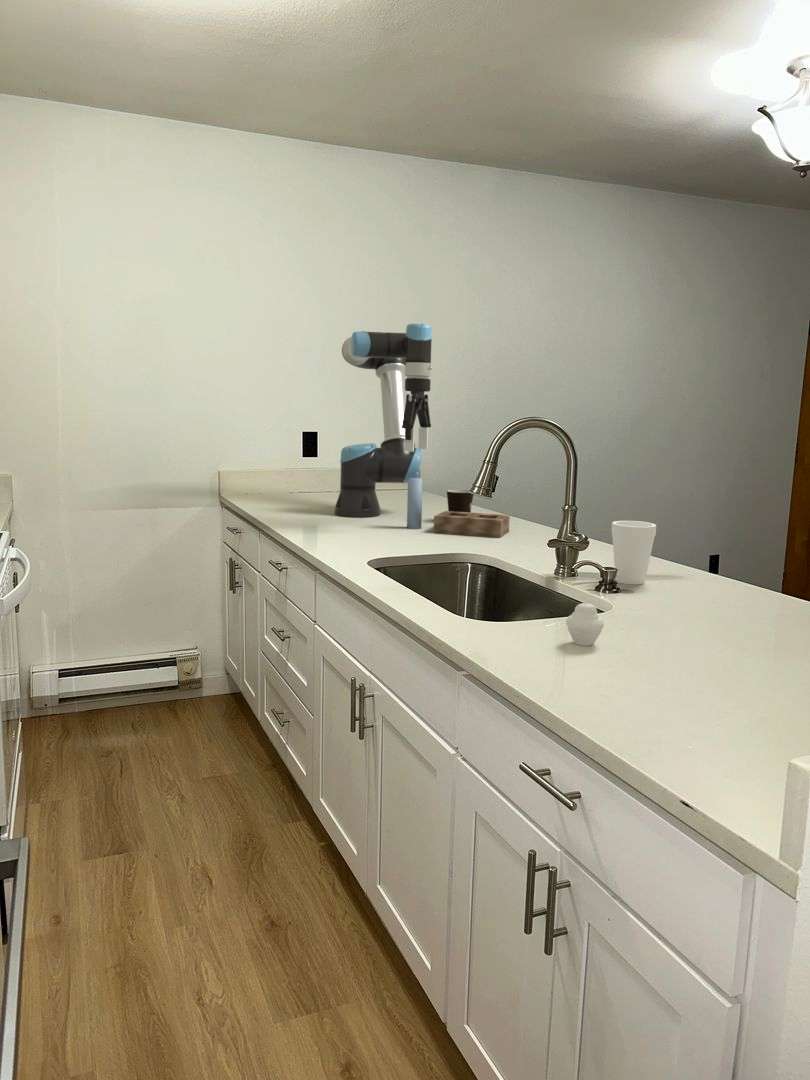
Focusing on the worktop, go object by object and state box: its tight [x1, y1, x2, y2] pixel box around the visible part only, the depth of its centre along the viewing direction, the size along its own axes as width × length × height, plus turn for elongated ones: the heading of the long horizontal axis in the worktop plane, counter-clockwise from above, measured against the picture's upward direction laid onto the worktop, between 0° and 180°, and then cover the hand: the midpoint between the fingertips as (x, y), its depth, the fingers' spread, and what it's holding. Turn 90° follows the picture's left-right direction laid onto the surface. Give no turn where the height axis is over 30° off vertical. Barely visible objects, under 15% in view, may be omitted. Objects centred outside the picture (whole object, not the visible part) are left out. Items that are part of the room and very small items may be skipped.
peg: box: [406, 477, 423, 530], centre depth 256 cm, size 4×4×15 cm
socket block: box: [433, 510, 511, 539], centre depth 251 cm, size 20×12×5 cm, turn 72°
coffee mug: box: [446, 489, 474, 513], centre depth 271 cm, size 12×9×10 cm
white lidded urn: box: [565, 602, 605, 647], centre depth 141 cm, size 6×6×7 cm
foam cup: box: [610, 520, 657, 585], centre depth 189 cm, size 10×9×13 cm
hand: (416, 450), depth 253 cm, fingers open, 13 cm apart
